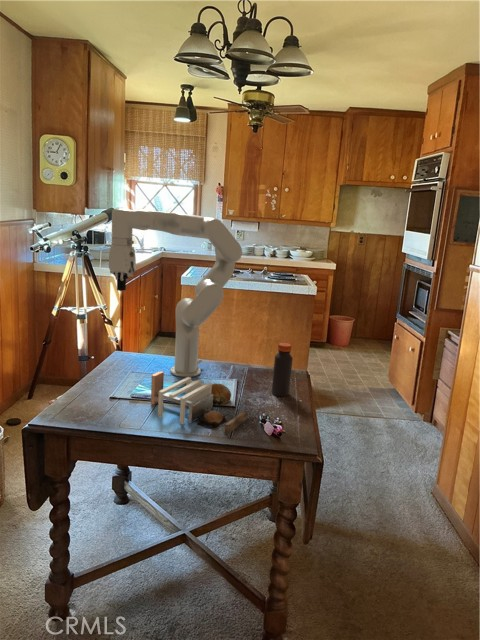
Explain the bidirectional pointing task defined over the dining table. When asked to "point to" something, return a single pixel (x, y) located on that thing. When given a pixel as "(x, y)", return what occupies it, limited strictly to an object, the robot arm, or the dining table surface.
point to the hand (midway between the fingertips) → (121, 290)
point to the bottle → (282, 370)
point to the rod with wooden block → (194, 408)
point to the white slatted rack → (193, 394)
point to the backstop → (235, 422)
